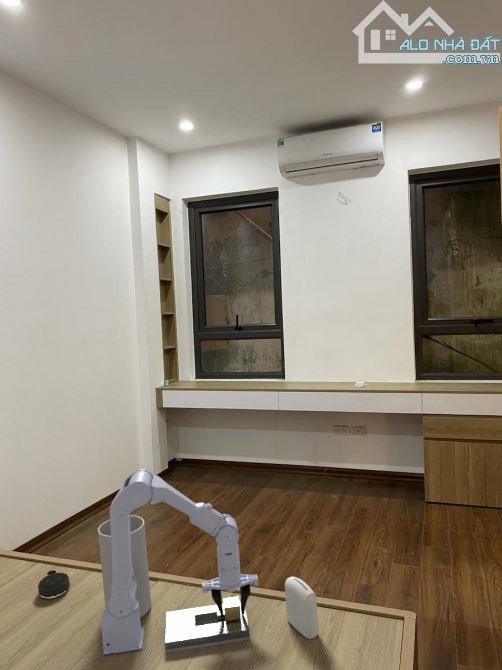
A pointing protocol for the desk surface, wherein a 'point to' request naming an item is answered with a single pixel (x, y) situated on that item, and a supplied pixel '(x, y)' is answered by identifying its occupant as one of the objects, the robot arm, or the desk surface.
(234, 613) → the brass peg
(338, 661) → the desk surface
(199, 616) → the keyhole plate
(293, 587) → the photo printer
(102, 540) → the cylinder vase
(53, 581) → the smart speaker
